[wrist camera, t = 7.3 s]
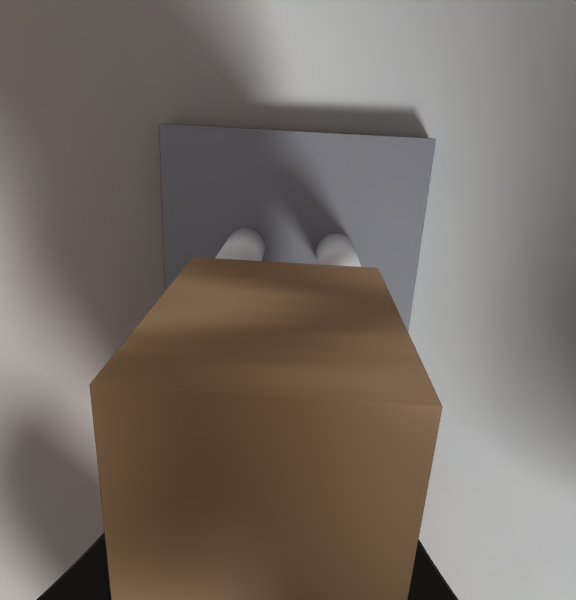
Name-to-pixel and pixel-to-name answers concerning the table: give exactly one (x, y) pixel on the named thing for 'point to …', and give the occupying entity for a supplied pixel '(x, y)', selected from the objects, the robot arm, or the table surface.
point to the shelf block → (265, 438)
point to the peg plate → (296, 200)
